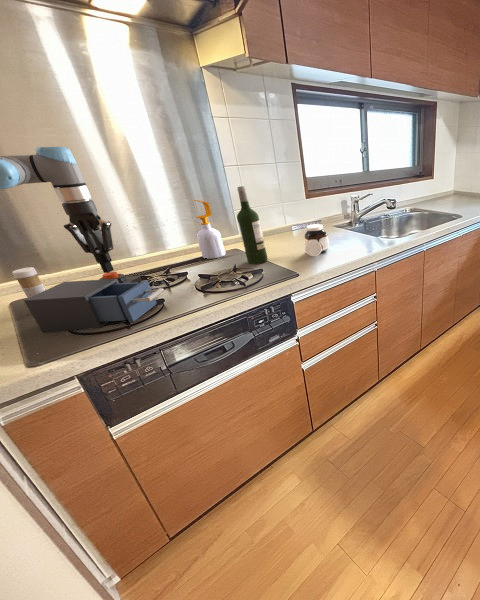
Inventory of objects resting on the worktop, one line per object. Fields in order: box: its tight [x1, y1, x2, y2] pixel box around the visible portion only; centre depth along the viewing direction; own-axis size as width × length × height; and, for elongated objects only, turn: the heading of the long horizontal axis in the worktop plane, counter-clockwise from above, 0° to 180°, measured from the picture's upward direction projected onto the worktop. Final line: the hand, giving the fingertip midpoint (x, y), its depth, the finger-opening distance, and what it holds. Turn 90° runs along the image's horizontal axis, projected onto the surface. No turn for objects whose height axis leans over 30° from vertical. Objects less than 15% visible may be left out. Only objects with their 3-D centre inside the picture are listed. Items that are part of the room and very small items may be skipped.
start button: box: [101, 271, 119, 279], centre depth 112 cm, size 4×4×2 cm
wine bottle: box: [236, 185, 268, 265], centre depth 130 cm, size 8×8×30 cm
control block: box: [98, 273, 143, 284], centre depth 113 cm, size 12×10×4 cm
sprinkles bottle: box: [11, 266, 47, 299], centre depth 96 cm, size 5×5×14 cm
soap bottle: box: [192, 199, 226, 260], centre depth 139 cm, size 9×9×25 cm
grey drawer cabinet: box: [23, 279, 119, 333], centre depth 91 cm, size 15×13×10 cm
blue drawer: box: [88, 279, 165, 323], centre depth 92 cm, size 18×11×8 cm, turn 96°
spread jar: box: [303, 223, 330, 257], centre depth 143 cm, size 12×11×12 cm
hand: (109, 271), depth 112 cm, fingers closed
